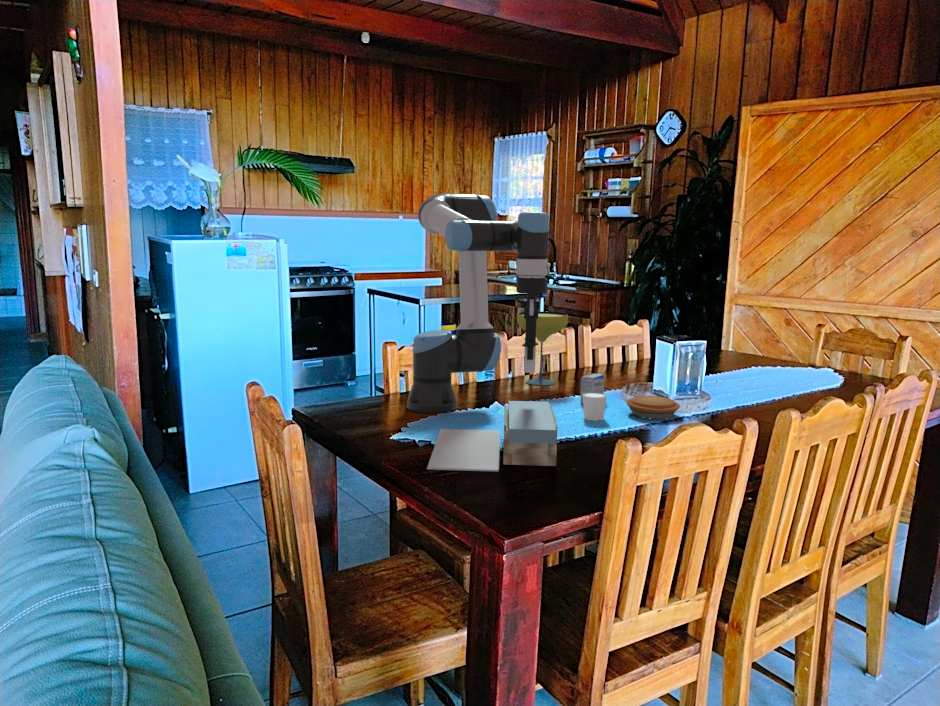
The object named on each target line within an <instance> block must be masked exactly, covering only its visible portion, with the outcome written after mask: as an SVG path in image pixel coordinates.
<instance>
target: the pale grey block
mask: <svg viewBox="0 0 940 706" xmlns="http://www.w3.org/2000/svg"><path fill="white" fill-rule="evenodd" d="M507 405H508V406H507V409H508V421H509V443H546V444H556V427H555V423H554V419H553V416H552V412H551V409H550V406H551V405H550V402H549V401H536V400H535V401H534V400H533V401H532V400H531V401H530V400H529V401H527V400H526V401H525V400H524V401H523V400H508V404H507Z"/></svg>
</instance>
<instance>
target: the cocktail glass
mask: <svg viewBox="0 0 940 706" xmlns="http://www.w3.org/2000/svg"><path fill="white" fill-rule="evenodd" d="M516 323H517V325H518V326H519V327H520V328H521V329H523V330H524V331H526V319H525V318H524V311H523V312H518V313H517V316H516ZM568 324H569V315H568V314H567V313H563V312H555V311H554V312H553V311H538V319H536V340H537V341H538V343H540V360H539V361H540V363H539V372H538V373H539V374H538V377H537V378H532V379H528V381H527V380H526V381H527V382H528V384H527V385H529V384H531V385H530V386H535V385H536V386H537V387H548V386H554V385H556V381H555V380H551V379H545V378H544V376H543V344H544V342H546V341H547V340H548V338H549V337H550V336H552V335H554V334H556V333H558V332H561V331H562V330H564V329H565V328H566V327H567V326H568Z"/></svg>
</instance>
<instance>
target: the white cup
mask: <svg viewBox="0 0 940 706" xmlns="http://www.w3.org/2000/svg"><path fill="white" fill-rule="evenodd" d="M607 399H608V397H607V395H606V394H605V393H604V394H601V393H585V394H583V403H582V404H583V407H582V409H583V419H584V420H587V421H590V420H593V421H592V422H599V421H598V420H601V421H604V419H605V414H606V413H605V412H606V406H607V405H606V404H607Z"/></svg>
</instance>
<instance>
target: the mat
mask: <svg viewBox="0 0 940 706" xmlns="http://www.w3.org/2000/svg"><path fill="white" fill-rule="evenodd" d="M500 444H501V430H499V429H498V430H497V429H494V430H493V429H491V430H490V429H462V428H461V429H457V428H456V429H454V428H453V429H452V428H451V429H450V428H440V430H439V432H438V436H437V438H436V441H435V444H434V448H433V450H432V452H431V456H430V458H429V461H428V465H427V467H426V470H435V471H460V472H461V471H465V472H467V471H468V472H469V471H470V472H496V473H498V472H499V471H500V446H501V445H500Z"/></svg>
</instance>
